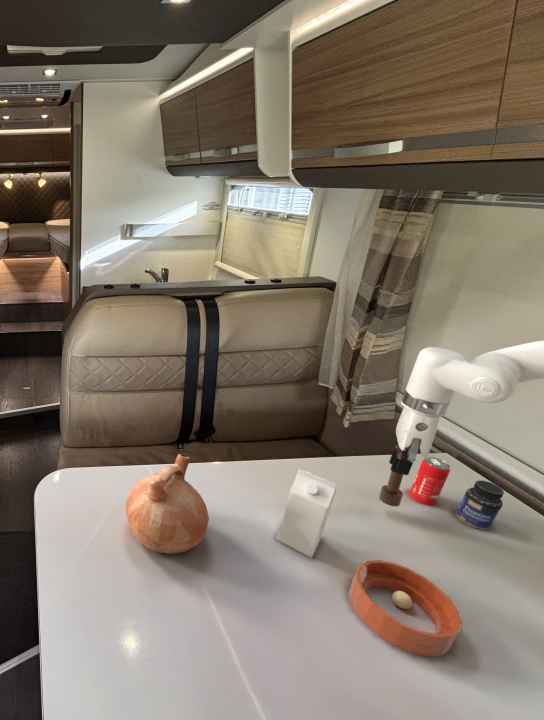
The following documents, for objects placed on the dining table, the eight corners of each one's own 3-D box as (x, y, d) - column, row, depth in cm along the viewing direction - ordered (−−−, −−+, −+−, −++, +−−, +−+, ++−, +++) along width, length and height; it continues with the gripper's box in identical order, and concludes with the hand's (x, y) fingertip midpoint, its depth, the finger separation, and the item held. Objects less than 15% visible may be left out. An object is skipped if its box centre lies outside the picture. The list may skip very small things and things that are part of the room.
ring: (440, 605, 84) (451, 584, 82) (457, 677, 72) (471, 655, 70) (347, 568, 92) (354, 548, 90) (349, 628, 80) (358, 607, 78)
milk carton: (285, 524, 103) (303, 461, 96) (319, 541, 98) (340, 476, 91) (275, 541, 99) (293, 476, 91) (310, 560, 94) (332, 493, 87)
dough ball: (387, 588, 85) (397, 600, 85) (389, 601, 83) (399, 613, 83) (403, 586, 83) (414, 598, 83) (406, 598, 81) (417, 611, 81)
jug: (175, 585, 89) (187, 511, 81) (107, 533, 101) (112, 465, 94) (217, 537, 100) (232, 468, 92) (152, 495, 113) (160, 432, 105)
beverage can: (416, 506, 108) (432, 468, 104) (403, 492, 113) (418, 455, 108) (439, 509, 107) (457, 470, 103) (425, 494, 112) (441, 457, 107)
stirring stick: (400, 499, 104) (415, 448, 99) (399, 509, 102) (415, 456, 96) (379, 492, 107) (393, 442, 102) (378, 501, 104) (392, 450, 99)
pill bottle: (454, 523, 103) (471, 487, 99) (454, 509, 107) (470, 474, 103) (490, 537, 99) (509, 500, 95) (488, 522, 103) (507, 486, 99)
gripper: (455, 424, 86) (424, 495, 93) (439, 391, 98) (413, 456, 105) (407, 413, 90) (381, 482, 97) (398, 383, 102) (375, 446, 109)
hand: (398, 468), depth 101 cm, fingers closed on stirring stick, 2 cm apart
